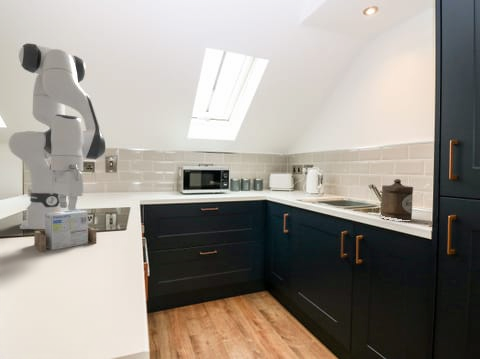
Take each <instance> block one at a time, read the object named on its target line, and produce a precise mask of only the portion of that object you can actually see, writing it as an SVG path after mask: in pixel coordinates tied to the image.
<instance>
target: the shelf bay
mask: <svg viewBox="0 0 480 359" xmlns="http://www.w3.org/2000/svg"><path fill="white" fill-rule="evenodd" d="M33 236H34V237H33V238H34V239H33V240H34V246H35V247H36V248H37V249H38V251H40V253H45V252H46V248H47V247H46V236H45V229H37V230H34V235H33ZM88 243H90V244H93V245H94V244H95V245H96V244H97V229H95V228H93V227H91V226H90V225H88Z"/></svg>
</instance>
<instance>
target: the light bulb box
mask: <svg viewBox="0 0 480 359" xmlns="http://www.w3.org/2000/svg"><path fill="white" fill-rule="evenodd" d="M88 226H89V212H88V211H87V210H83V209H75V210H74V211H61V212H52V213H45V229H44V230H45V236H46V248H48V249H49V250H50V251H53V250H60V249H65V248H70V247H76V246H81V245H86V244H89V241H88Z"/></svg>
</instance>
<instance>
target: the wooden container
mask: <svg viewBox="0 0 480 359" xmlns="http://www.w3.org/2000/svg"><path fill="white" fill-rule="evenodd" d="M401 182H402V180H401V179H399V178H396V179H394V180H393V184H391V185H382V187H381V201H380V202H381V203H380V216H381V215H382V216H385V217H391V218H397V219H402V220H411V221H412V219H413V218H412V217H413V197H414V196H413V192H414V186H410V185H409V186H407V185H403V184H402V183H401Z"/></svg>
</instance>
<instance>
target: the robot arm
mask: <svg viewBox="0 0 480 359" xmlns="http://www.w3.org/2000/svg"><path fill="white" fill-rule="evenodd" d="M18 52H19V53H18V58H19V63H20V65H21V67H22V68H23V70H25V71H27V72H29V73H31V74H34V73H35V74H36V77H35V82H34V85H33V91H32V116H33V118H34V119H35V121H38V122H39V123H41V124H42V125H45V126H46V127H48V128H49V129H48V130H46V131H30V130H29V131H17V132H14V133H12V135H11V136H10V138H9V140H8V147H9V148H8V149H9V150H10V152H11V153H12V154H13V155H14V156H15V157H17V158H18V159H20V160H21V161H22V162H23V163H24V164H25V165H26V167H27V169H28V171H29V174H30V180H31V181H30V182H31V183H30V184H31V193H30V195H29V198H30V199H29V202H30V204H29V205H28V206H27V207H26V209H24V211H22V217H23V218H24V219H23V220H22V221H21V223H20V225H19V229H20V230H45V213H52V212H61V211H74V210H77V209H76V206H77V203H78V202H77V201H78V197H83V194H84V178H83V172H84V159H89V160H97V159H99V158H100V157H102V156H103V155H104V154H105V153H106V141H105V137H104V134H103V133H102V131H101V127H100V124H99V122H98V121H99V120H98V118H97V114H96V111H95V108H94V106H93V105H94V104H93V102H92V99H91V97H90V95H89V94H88V93H87V92H85V91H84V90H83V89H82V87H81V86H80V84H79V83H80V82H82V81H83V80H84V78H85V76H86V70H87V68H86V63H85V61H84V60H83V58H80V57H78V56H77V55H71V54H70V53H68V52H67V51H65V50H63V49H58V48H54V49H53V48H51V47H45V46H40V45H37V44H35V43H27V42H26V43H25V44H23V45H22V47H21V48H20V49H19V51H18ZM66 107H69V108H71V109H73V110H75V112H76V111H77V112H78V113H79V115H80V116H81V117H82V119H81V118H80V117H78V116H76V115H67V114H66ZM82 122H83V123H82ZM83 124H84V127H85V130H84V129H83ZM48 160H50V164H49V162H48ZM67 198H68V202H67Z"/></svg>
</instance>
